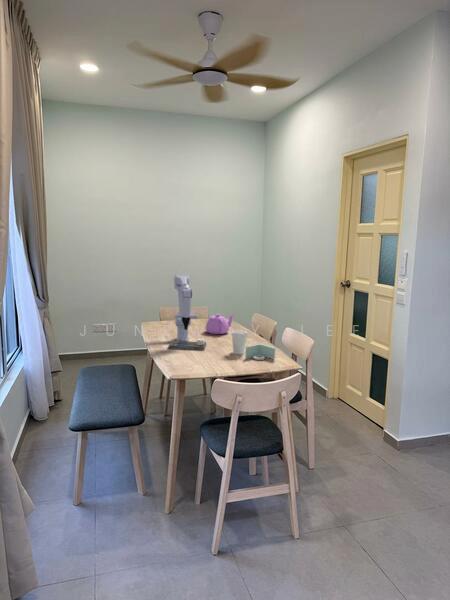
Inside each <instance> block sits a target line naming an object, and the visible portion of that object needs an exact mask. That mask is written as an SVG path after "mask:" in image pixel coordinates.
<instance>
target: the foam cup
mask: <svg viewBox="0 0 450 600" xmlns="http://www.w3.org/2000/svg"><path fill="white" fill-rule="evenodd" d="M247 337H248V331H246V330H243V329H242V330H241V329H234V330H231V342H232V352H233V354H235V355H243V354H245V349H246V342H247V341H246V340H247Z"/></svg>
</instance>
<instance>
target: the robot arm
mask: <svg viewBox="0 0 450 600" xmlns="http://www.w3.org/2000/svg"><path fill="white" fill-rule="evenodd" d="M173 282H174V285H173V286H174V289H176V292H177V298H178V312H177V313H175V314H174V324H175V327H177V328H176V330H177V331H176V339H175V341H189V339H190V337H189V327H190V326H191V323H192V322H191V321H192V320H191V319H197V320H198V318H199V315H198V314H196V315H195V314H192V297H193V290H192V288H190V285H189V284H190V276H189V275H176V274H175V275H174V277H173Z"/></svg>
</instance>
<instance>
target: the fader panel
mask: <svg viewBox="0 0 450 600" xmlns="http://www.w3.org/2000/svg"><path fill="white" fill-rule="evenodd" d="M206 346H207V342H206V341H204V345H197V341H189V340H188V341H176V340H171V342H169V344H168V349H171V350H191V351H193V350H194V351H205V349H206Z"/></svg>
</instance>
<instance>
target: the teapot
mask: <svg viewBox="0 0 450 600" xmlns="http://www.w3.org/2000/svg"><path fill="white" fill-rule="evenodd" d="M234 316H235V313H234V314H231V315H230V316H229V317H228V321H227V319H226V317H225V316H222V315H221V314H220V313H215V315H211V316H210V317H209V318H208V320H207V322H206V325H205V330H206V332H207V333H209V334H211V335H224V334H226V333H228V332H229V331H230V327H231V326H232V324H233V323H232V321H233V320H232V319H233V317H234Z"/></svg>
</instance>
